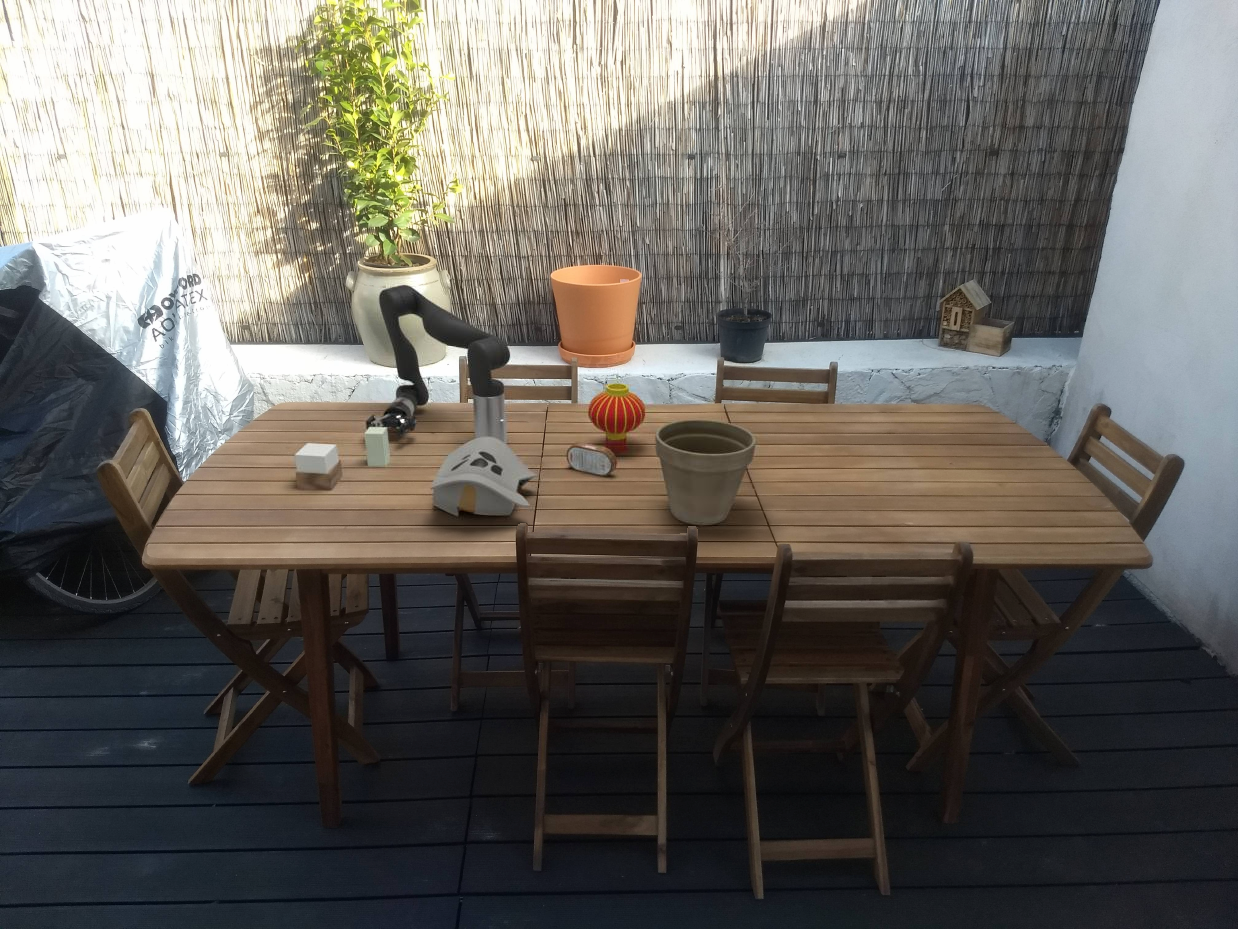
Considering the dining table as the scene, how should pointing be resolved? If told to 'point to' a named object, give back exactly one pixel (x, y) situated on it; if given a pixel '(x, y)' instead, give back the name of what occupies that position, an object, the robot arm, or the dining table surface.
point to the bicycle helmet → (481, 479)
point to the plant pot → (703, 467)
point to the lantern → (616, 413)
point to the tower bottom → (319, 479)
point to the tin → (591, 459)
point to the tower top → (316, 458)
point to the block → (377, 446)
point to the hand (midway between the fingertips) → (385, 432)
